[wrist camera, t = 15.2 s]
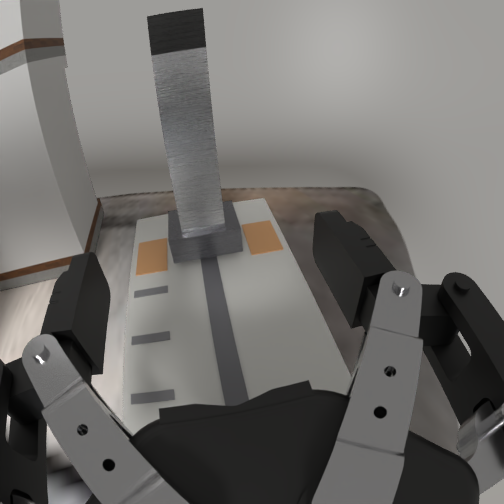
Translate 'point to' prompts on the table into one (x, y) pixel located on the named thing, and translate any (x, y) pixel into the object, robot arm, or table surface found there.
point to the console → (221, 323)
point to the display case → (40, 151)
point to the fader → (190, 139)
